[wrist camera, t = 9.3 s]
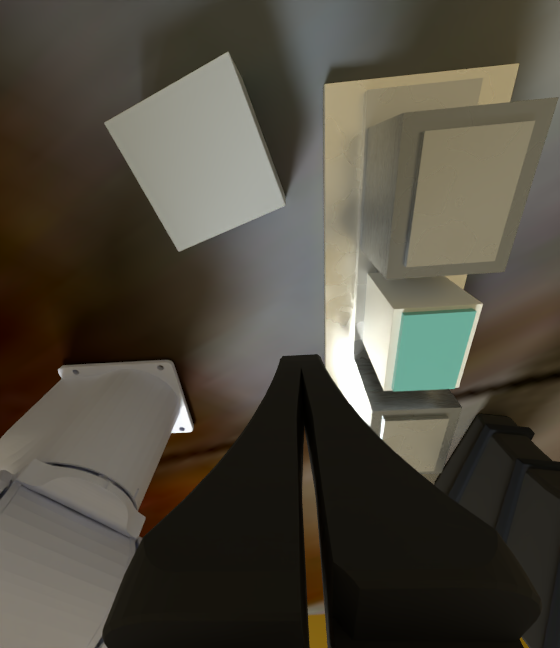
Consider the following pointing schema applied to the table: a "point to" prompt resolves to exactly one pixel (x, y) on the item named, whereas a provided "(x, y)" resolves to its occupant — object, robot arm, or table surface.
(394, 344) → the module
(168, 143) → the block
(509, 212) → the rail panel
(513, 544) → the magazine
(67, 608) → the robot arm
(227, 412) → the table surface
